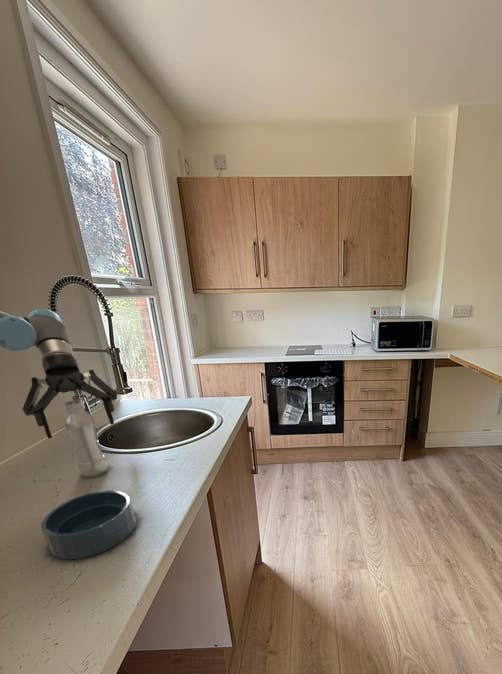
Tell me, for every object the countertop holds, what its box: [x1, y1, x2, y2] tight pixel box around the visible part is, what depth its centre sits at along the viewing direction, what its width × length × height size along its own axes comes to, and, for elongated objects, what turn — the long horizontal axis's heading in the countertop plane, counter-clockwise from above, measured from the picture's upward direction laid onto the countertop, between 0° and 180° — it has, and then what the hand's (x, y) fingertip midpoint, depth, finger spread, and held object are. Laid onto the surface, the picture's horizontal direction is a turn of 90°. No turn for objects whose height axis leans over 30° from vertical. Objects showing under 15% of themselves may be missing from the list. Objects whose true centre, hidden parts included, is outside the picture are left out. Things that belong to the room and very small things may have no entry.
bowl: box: [40, 489, 137, 560], centre depth 68 cm, size 14×14×6 cm
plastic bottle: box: [64, 399, 109, 478], centre depth 88 cm, size 6×7×20 cm
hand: (82, 428), depth 89 cm, fingers open, 13 cm apart
